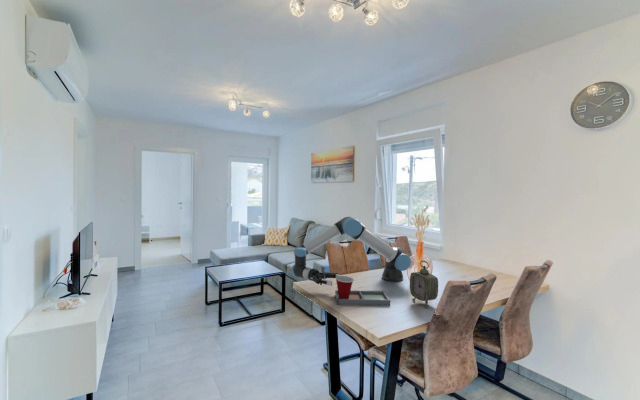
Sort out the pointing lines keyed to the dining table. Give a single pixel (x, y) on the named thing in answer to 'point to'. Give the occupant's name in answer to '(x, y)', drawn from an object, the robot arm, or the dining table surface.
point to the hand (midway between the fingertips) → (338, 281)
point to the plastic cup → (344, 286)
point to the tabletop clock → (423, 285)
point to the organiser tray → (364, 298)
